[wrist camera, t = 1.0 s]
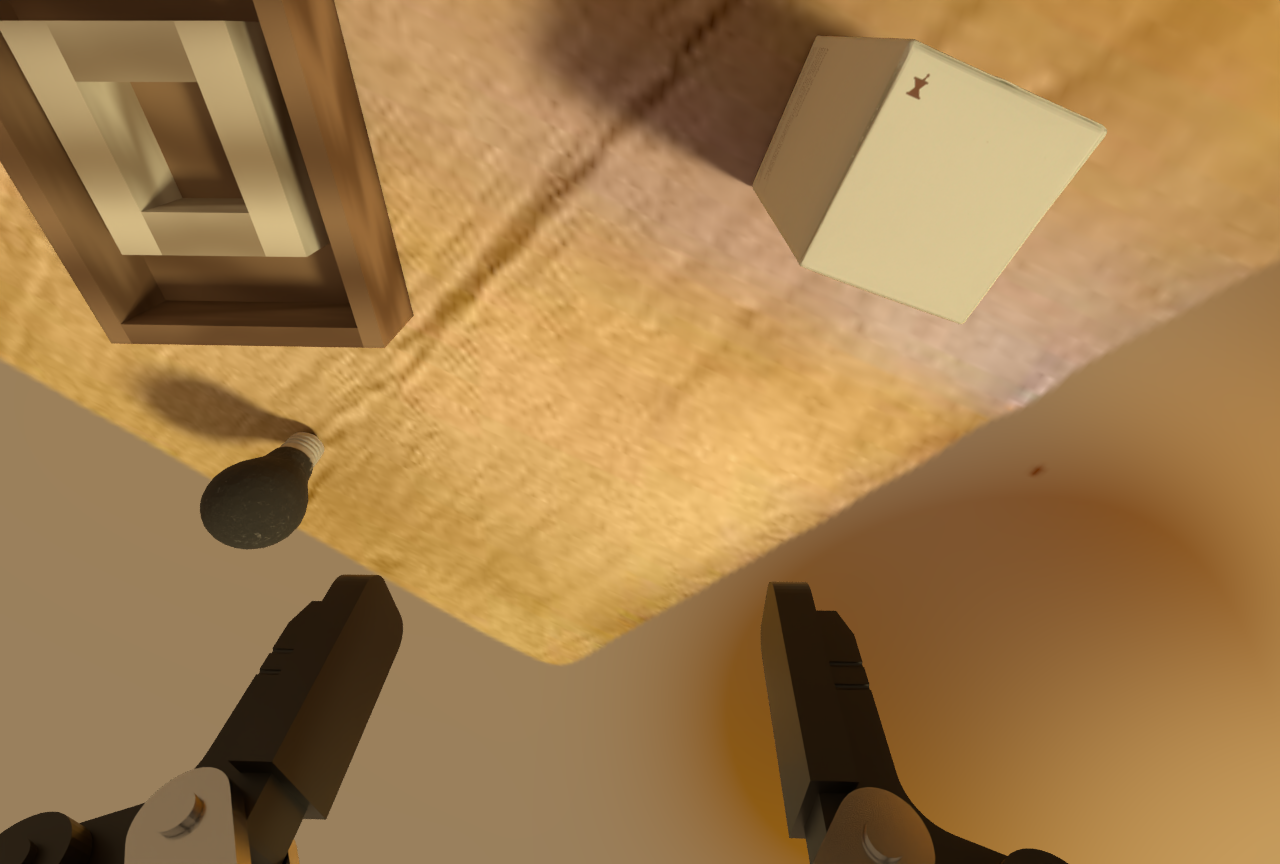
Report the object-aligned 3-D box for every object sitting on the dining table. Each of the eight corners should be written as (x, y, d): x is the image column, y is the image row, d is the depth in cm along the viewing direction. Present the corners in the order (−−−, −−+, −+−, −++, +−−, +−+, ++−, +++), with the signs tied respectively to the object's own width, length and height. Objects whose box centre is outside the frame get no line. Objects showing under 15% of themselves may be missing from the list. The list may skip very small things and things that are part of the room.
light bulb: (340, 409, 40) (257, 505, 32) (359, 470, 43) (288, 571, 35) (262, 404, 40) (159, 499, 32) (287, 465, 43) (199, 565, 35)
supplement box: (747, 188, 30) (790, 266, 20) (816, 30, 26) (915, 26, 16) (865, 235, 32) (963, 332, 21) (949, 91, 27) (1121, 125, 17)
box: (-60, -121, 24) (-190, -149, 20) (302, -123, 24) (236, -153, 20) (168, 311, 36) (111, 343, 32) (413, 315, 35) (384, 347, 32)
